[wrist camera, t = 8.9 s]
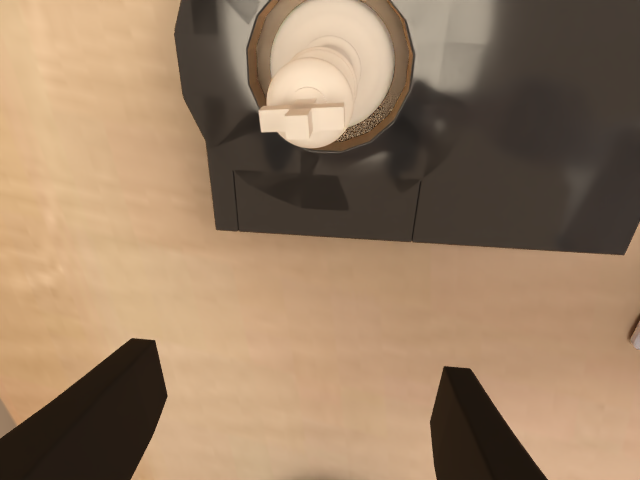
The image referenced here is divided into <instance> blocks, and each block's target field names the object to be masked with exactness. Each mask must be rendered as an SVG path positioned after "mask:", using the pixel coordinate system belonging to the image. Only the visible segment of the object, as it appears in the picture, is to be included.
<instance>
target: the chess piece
mask: <svg viewBox="0 0 640 480" xmlns="http://www.w3.org/2000/svg"><path fill="white" fill-rule="evenodd" d="M394 68H395V53H394V47H393V42H392V39H391V36H390V33H389V31H388V29H387V27H386V25H385V24H384V22H383V21H382V19H381V18H380V17H379V15H378V14H377V13H376V12H375V11H374V10H373V9H372V8H371V7H369V6H368V5H367V4H365V3H364V2H362V1H360V0H306V1H304V2H303V3H301V4H300V5H298V6H297V7H296V8H294V9H293V10H292V11H291V12H290V13H289V14H288V15H287V17H286V18H285V19H284V21H283V22H282V24H281V25H280V27H279V29H278V31H277V33H276V35H275V38H274V41H273V44H272V48H271V55H270V72H271V78H272V80H271V82H270V85H269V88H268V92H267V99H266V104H267V106H263V107H262V108H260V109H259V110H258V111H259V119H260V127H261V132H278V133H279V134H280V136H282V137H283V138H284V139H285V140H286V141H288V142H290V143H291V144H294V145H296V146H299V147H303V148H320V147H323V146H326V145H329V144H331V143H332V142H334V141H335V140H337V139H338V138H339V137H340V136H341V135H342V134H343V133H344V132H345V130H346V129H347V128H349V127H352V126H354V125H356V124H358V123H360V122H362V121H364V120H365V119H366V118H368V117H369V116H370V115H371V114H372V113H373V112H374V111H375V110H376V109H377V108H378V107H379V106H380V104H381V103H382V101H383V100H384V98H385V97H386V95H387V93H388V91H389V88H390V86H391V83H392V79H393V75H394Z"/></svg>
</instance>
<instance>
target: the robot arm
mask: <svg viewBox="0 0 640 480" xmlns="http://www.w3.org/2000/svg"><path fill="white" fill-rule="evenodd" d="M630 342H631V344H632V345H633V346H634V347H635V348H636V349H638V350H640V321H639V323H638V325H637V327H636V329H635V331H634V333H633V335H632V337H631V339H630ZM167 396H168V395H167V391H166V387H165V382H164V378H163V373H162V369H161V364H160V360H159V355H158V351H157V347H156V342H155V340H146V339H135V338H132V339H130V340H129V341H128V342H126V343H125V344H124V345H123V346H121V347H120V348H119V349H117V350H116V351H115V352H114V353H112V354H111V355H110V356H109V357H107V358H106V359H105V360H104V361H102V362H101V363H100V364H99V365H97V366H96V367H95V368H94V369H92V370H91V371H90V372H89V373H87V374H86V375H85V376H84V377H82V378H81V379H80V380H78V381H77V382H76V383H75V384H73V385H72V386H71V387H69V388H68V389H67V390H66V391H64V392H63V393H62V394H60V395H59V396H58V397H57V398H55V399H54V400H53V401H51V402H50V403H49V404H47V405H46V406H45V407H43V408H42V409H41V410H39V411H38V412H36V413H35V414H34V415H32V416H31V417H29V418H28V419H27V420H25V421H24V422H23V423H21V424H20V425H18V426H17V427H16V428H14V429H13V430H11V431H10V432H9V433H7V434H6V435H5V436H3V437H2V438H1V439H0V480H130V479H131V478H132V476H133V474H134V472H135V470H136V468H137V466H138V464H139V462H140V460H141V458H142V456H143V454H144V452H145V450H146V448H147V446H148V444H149V442H150V440H151V438H152V436H153V434H154V431H155V429H156V426H157V423H158V421H159V418H160V416H161V413H162V410H163V407H164V404H165V402H166V399H167ZM430 427H431V438H432V449H433V458H434V467H435V472H436V477H437V480H548V479H547V478H546V477H545V475H544V474H543V473H542V471H541V470H540V469H539V467H538V466H537V465H536V464H535V462H534V461H533V459H532V458H531V457H530V455H529V454H528V453H527V451H526V450H525V448H524V447H523V446H522V444H521V443H520V441H519V440H518V439H517V437H516V436H515V435H514V433H513V432H512V430H511V429H510V427H509V426H508V425H507V423H506V422H505V420H504V419H503V417H502V416H501V414H500V413H499V411H498V410H497V408H496V407H495V405H494V404H493V402H492V401H491V399H490V398H489V396H488V395H487V393H486V392H485V390H484V389H483V387H482V385H481V384H480V382H479V381H478V379H477V378H476V376H475V374H474V373H473V372H472V371H471V369H469V368H458V367H447V366H444V368H443V372H442V376H441V380H440V384H439V388H438V392H437V396H436V400H435V404H434V408H433V412H432V416H431V420H430Z"/></svg>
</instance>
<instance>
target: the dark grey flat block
mask: <svg viewBox="0 0 640 480" xmlns="http://www.w3.org/2000/svg"><path fill="white" fill-rule="evenodd" d="M386 1H387V2H388V4H389V5H390V6H391V8H392V9H393V10H394V11H395V13H396V14H397V15H398V17H399V18H400V19H401V22H402V26H403V30H404V34H405V38H406V42H407V45H408V49H409V59H408V68H407V76H406V85H405V87H404V89H403V91H402V93H401V94H400V96H399V98H398V100H397V102H396V104H395V106H394V108H393V110H392V112H391V113H390V114H389V115H388V116H387V117H386V118H385V119H384V120H382V121H381V122H380V123H379V124H378V125H377V126H376V127H374V128H373V129H372V130H371V131H370V132H368V133H365V134H363V135H360V136H357V137H354V138H351V139H349V140H346V141H343V142H336V141H334V142H332V143H331V144H329V145H326V146H323V147H320V148H303V147H299V146H296V145H294V144H291V143H290V142H288V141H286V140H285V139H284V138H283V137H282V136H280V134H279V133H278V132H261V127H260V119H259V111H258V110H259V109H260V108H262V107H263V106H267V104H266V98H265V95H264V93H263V91H262V88H261V86H260V84H259V81H258V74H257V55H256V46H257V43H258V40H259V37H260V34H261V31H262V28H263V25H264V21H265V18H266V16H267V15H268V13H269V12H270V11H271V10H272V9H273V7H274V6H275V5H276V4H277V3H278V2H279V0H181V3H180V7H179V12H178V16H177V21H176V25H175V33H174V36H175V43H176V51H177V58H178V65H179V72H180V80H181V87H182V94H183V96H184V97H183V98H184V100H185V102H186V104H187V106H188V108H189V110H190V112H191V114H192V116H193V118H194V120H195V122H196V123H197V125H198V127H199V129H200V131H201V133H202V135H203V137H204V139H205V141H206V149H207V157H208V166H209V174H210V183H211V191H212V200H213V208H214V217H215V225H216V230H222V231H238V230H239V231H240V232H255V233H271V234H288V235H304V236H320V237H336V238H352V239H368V240H384V241H400V242H411V241H412V242H416V243H432V244H448V245H465V246H481V247H497V248H513V249H529V250H545V251H561V252H577V253H594V254H610V255H625V253H626V251H627V248H628V246H629V244H630V242H631V240H632V237H633V235H634V233H635V231H636V229H637V226H638V224H639V222H640V0H386Z"/></svg>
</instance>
